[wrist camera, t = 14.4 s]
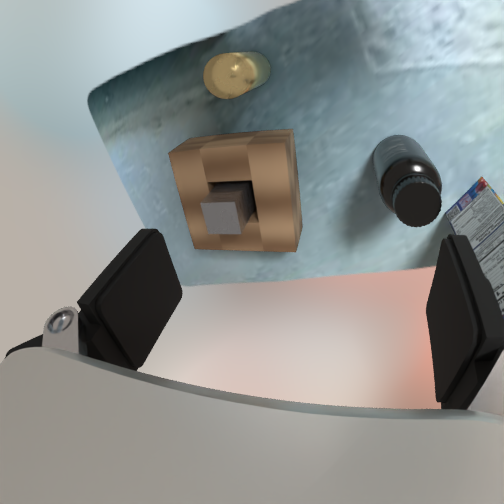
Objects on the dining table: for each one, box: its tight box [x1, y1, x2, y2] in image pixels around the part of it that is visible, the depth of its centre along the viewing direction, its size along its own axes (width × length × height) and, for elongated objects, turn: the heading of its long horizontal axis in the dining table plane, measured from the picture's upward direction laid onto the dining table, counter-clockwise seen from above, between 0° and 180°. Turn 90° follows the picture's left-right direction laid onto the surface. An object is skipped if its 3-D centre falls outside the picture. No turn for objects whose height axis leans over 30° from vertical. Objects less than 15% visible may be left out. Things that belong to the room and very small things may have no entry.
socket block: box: [168, 129, 302, 252], centre depth 40 cm, size 14×14×6 cm
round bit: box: [203, 51, 271, 99], centre depth 30 cm, size 5×5×9 cm
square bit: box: [200, 180, 256, 234], centre depth 39 cm, size 4×4×10 cm
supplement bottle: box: [373, 135, 442, 227], centre depth 30 cm, size 7×7×12 cm
